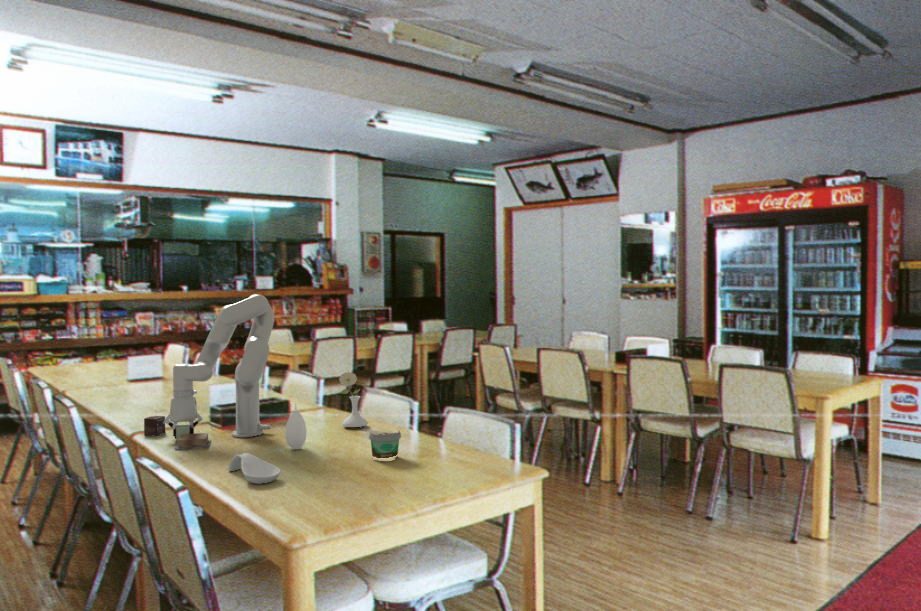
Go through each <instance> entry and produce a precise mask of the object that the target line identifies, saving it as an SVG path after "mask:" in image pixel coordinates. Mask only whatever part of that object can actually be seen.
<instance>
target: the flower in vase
mask: <svg viewBox="0 0 921 611" xmlns="http://www.w3.org/2000/svg"><path fill="white" fill-rule="evenodd" d="M338 380H339V383H340V384H341V385H342V386H345V387H350V386H353V385H355V384H356V382H357V381H358V377H357V375H356V373H353V371H352V372H351V371H347V372H344V373H342V374H341V375H340V376H339V378H338ZM360 391H361V388H359V389H356V390H354V391H353V392H352V391H351V390H350V388H348V389H346V388H345V389H342V390H341V391H340V394H344V395H347V394H349V392H350V394H351V396H349V397H348V398H349V399H350V401H351V408H352V409H351V413H350V415H348V416H347V417H346V418H344V420H343V421H342V422H341V425H342V426H343V427H345V428H347V427H360V428H363V427H362V426H364V427H365V425H366V426H367V425H368V420H366V419H365V418H364V417H363V416H362V415H361V414H360V413H359V412H358V405H359V400H360V398H361V396H360V395H355V394H358V393H359V392H360Z"/></svg>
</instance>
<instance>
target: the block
mask: <svg viewBox="0 0 921 611" xmlns="http://www.w3.org/2000/svg"><path fill="white" fill-rule="evenodd" d="M182 434H190V423H177V426H176V439H175V442H176V441H177V442H178V440H179V438H180V436H181V435H182Z"/></svg>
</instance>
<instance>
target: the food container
mask: <svg viewBox="0 0 921 611" xmlns="http://www.w3.org/2000/svg"><path fill="white" fill-rule="evenodd" d="M401 438H402V434H401V432H400V430H398V431H397V432H391V433H390V432H383V433H380V434H374V433H371V432H370V433H369V436H368V439H369V440H370V446H371V454H372V455H371V456H373V457H376V458H389V457H393V456H396V455H397V454H398V453H399V445H400V439H401ZM398 455H399V454H398Z"/></svg>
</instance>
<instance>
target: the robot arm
mask: <svg viewBox="0 0 921 611" xmlns="http://www.w3.org/2000/svg"><path fill="white" fill-rule="evenodd" d="M250 320H252V324H251V327H250V331H249V333H248V337H247V338H246V342H245V343H244V354H243V356H242V359H241V361H240V362H238V364H237V365H236V368H235V371H234V377H235V378H234V379H235V430H233V431H232V433H231V435H232V436H233V437H234V438H254V437H253V436H255V437H258V436H257V435H259V436H261V434H262V433H263V434H264V430H271V424H268V423H267V424H266V423H265V424H262V423H261V421H260V380H261V378H262V375H263V373H264V371H265V367H266V364H267V361H268V359H269V354H270V344H269V342H270V341H269V340H270V338H271V334H272V330H273V327H274V323H275V315H274V310H273V308H272V306H271V305H270V302H269V300H268V299H267V297H265V296H264V295H262V294H257V293H254V294H251V295H249V296H248V298H245V299H243V300H241V301H238V302H236V303H233V304H227V305H224V306H223V307H222V308H221V309H220V311H219V312H218V315H217V317H216V318H215V321H214V323H213V325H212V328H211V330H210V331H209V334H208V335H207V338H206V340H205V343H204V345H203V347H202V349H201V351H200V353H199V355H198V357H197V359H196V361H195V363H194V364H190V363H187V362H186V363H177V364H174V365H173V367H172V386H173V387H172V393H173V394H172V397H171V399H170V406H169V413H168V415H167V416H166V417H165V420H164V422H165V425H166V424H167V425H168V426H169V427H170V428H172V430H173V431H172V434H173V435H172V436H173V437H174V440H176V426H177V425H178V424H179V423H183V422H186V423H187V422H188V424H190V434H195V427H196V426H197V425H198V424H199V423H201V422H202V421H203V419H204V418H203V417H202V416H201V415H200V414H199V412H198V407H197V406H198V404H197V398H196V396H195V395H196V394H198V391H197V390H195V389H194V382H199V383H200V382H202V383H203V382H208V381H209V380H210V379H212V377H213V373H214V367H215V366H216V363H217V361H218V359H219V357H220V355H221V354H222V352H223V351H224V350H225V349H226V347H227V346H228V345H229V342H230V340H231V338H232V337H233V334H234V332H235V330H236V328H237V326H238V325H240V324H242V323H245V322H248V321H250ZM263 434H262V435H263Z"/></svg>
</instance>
